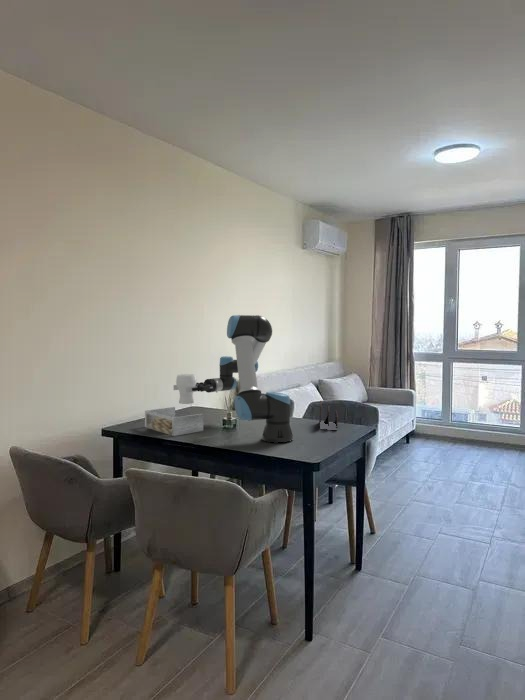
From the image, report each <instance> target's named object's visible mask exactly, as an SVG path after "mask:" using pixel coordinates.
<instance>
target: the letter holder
mask: <svg viewBox="0 0 525 700" xmlns="http://www.w3.org/2000/svg"><path fill="white" fill-rule="evenodd" d="M319 404H320V405H319V417H318V418H319V419H318V423H319V424H318V427H319V426H320V422H321V421H322V420H321V418H322V404H323V403H322V400H320V401H319ZM334 411H335V413H334V414H335V415H334V416H335V421H330V406H329V405H328V406H327V416H326V418H325V419H324V420H323V421H324V423H325V424H328V426H329V422H333V423H335V424H336V426H337V427H338V411H337V409H335V410H334Z"/></svg>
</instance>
